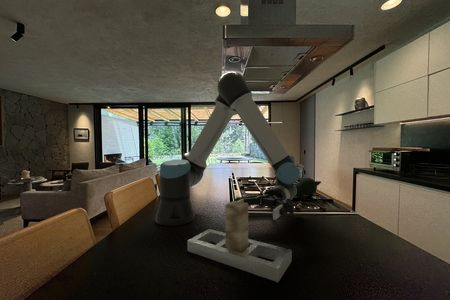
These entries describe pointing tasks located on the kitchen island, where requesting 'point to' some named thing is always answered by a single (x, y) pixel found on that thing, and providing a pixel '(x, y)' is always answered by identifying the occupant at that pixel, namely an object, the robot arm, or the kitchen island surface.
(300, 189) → the toy figurine
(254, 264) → the grey flat slotted block
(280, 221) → the kitchen island surface
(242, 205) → the peg
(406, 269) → the kitchen island surface
